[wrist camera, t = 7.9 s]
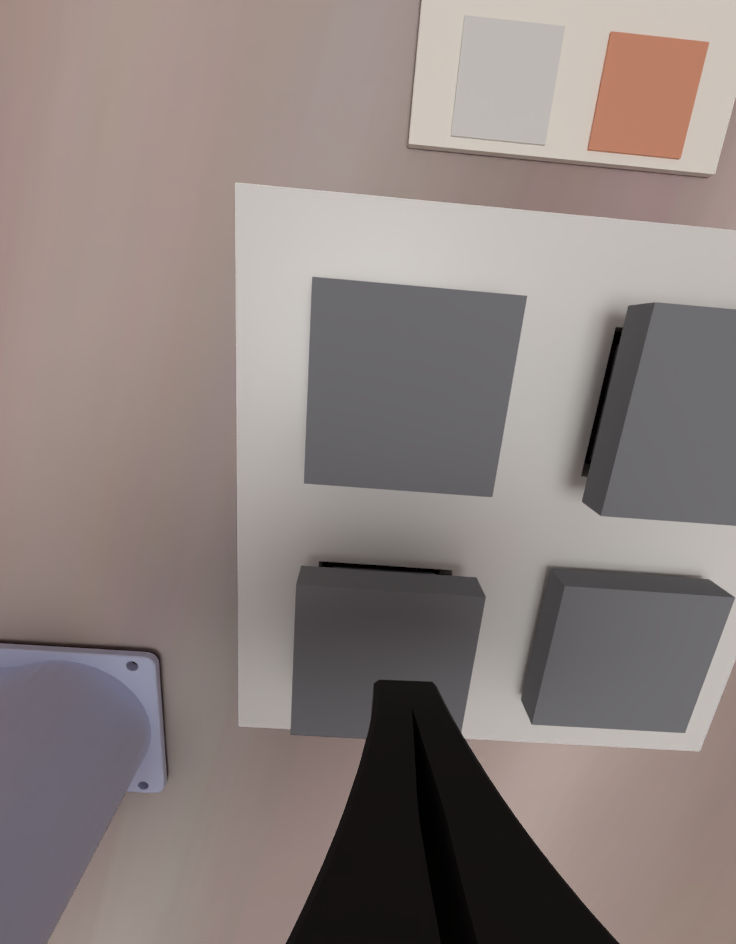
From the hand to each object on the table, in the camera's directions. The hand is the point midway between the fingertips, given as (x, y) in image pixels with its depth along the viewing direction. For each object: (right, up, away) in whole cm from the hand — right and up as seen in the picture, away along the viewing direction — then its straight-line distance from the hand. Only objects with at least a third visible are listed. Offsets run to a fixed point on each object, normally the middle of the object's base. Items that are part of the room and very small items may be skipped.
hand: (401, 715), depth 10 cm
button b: (+9, -1, +9) cm, 12 cm away
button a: (0, 0, +8) cm, 8 cm away
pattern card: (+6, +19, +3) cm, 21 cm away
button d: (+9, +8, +5) cm, 13 cm away
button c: (0, +9, +6) cm, 11 cm away
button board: (+5, +4, +8) cm, 10 cm away
